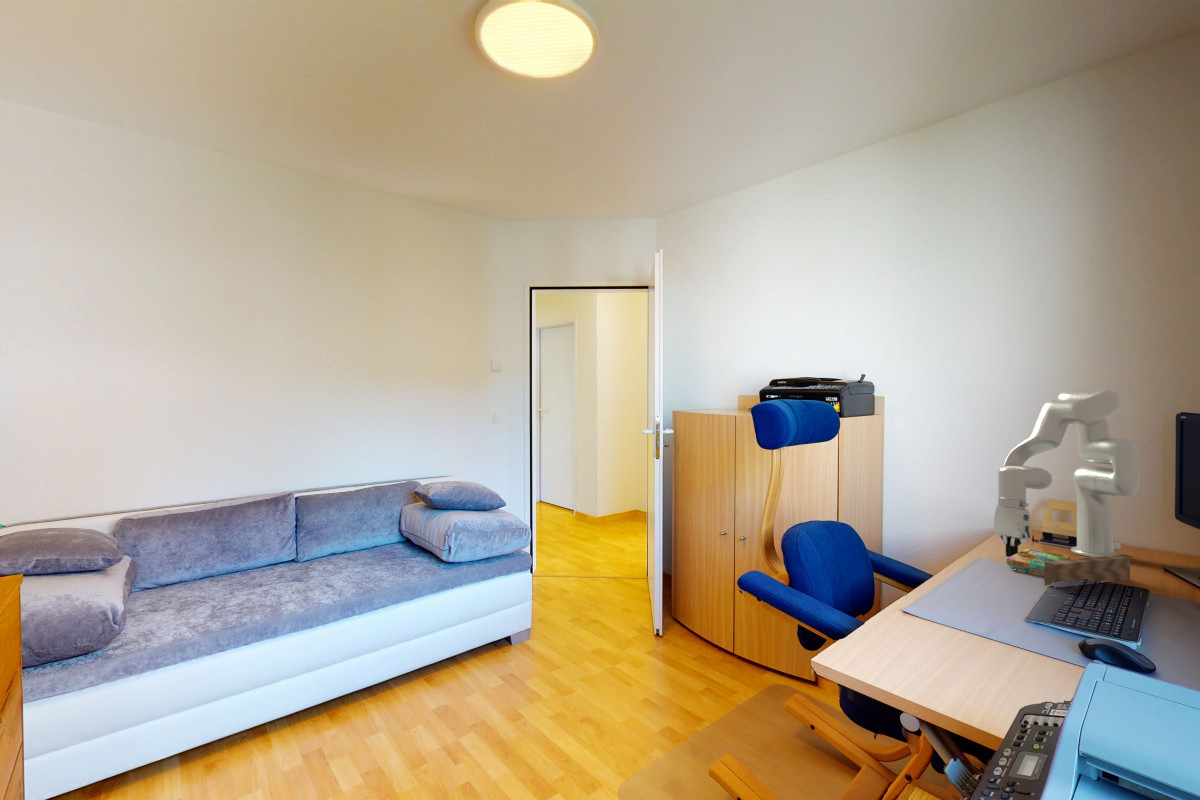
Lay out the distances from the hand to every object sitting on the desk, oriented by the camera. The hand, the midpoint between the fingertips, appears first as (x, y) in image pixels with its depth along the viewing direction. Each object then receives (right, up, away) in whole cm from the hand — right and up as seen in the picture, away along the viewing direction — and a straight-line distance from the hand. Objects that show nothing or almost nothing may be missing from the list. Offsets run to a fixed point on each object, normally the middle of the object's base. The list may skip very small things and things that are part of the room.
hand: (1011, 556), depth 181 cm
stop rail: (+6, -1, -22) cm, 23 cm away
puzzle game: (+3, -2, -8) cm, 9 cm away
